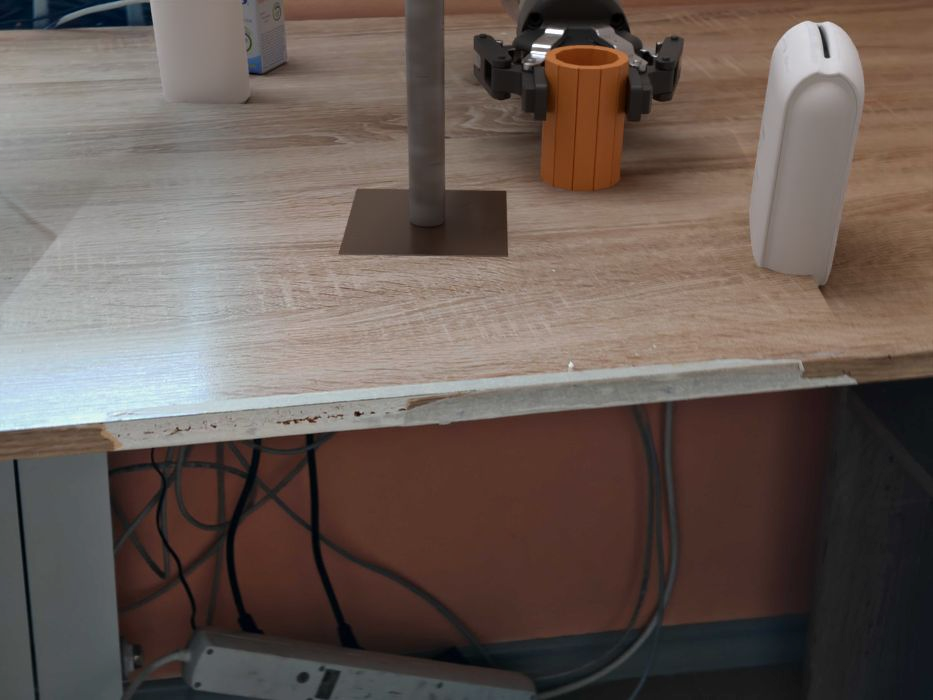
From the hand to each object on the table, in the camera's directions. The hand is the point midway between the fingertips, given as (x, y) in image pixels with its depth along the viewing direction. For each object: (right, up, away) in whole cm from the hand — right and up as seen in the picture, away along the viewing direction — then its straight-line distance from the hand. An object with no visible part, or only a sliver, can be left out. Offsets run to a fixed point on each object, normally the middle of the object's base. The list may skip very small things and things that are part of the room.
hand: (588, 104), depth 62 cm
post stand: (-9, -8, 0) cm, 12 cm away
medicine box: (-26, +10, +29) cm, 41 cm away
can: (-27, +5, +21) cm, 34 cm away
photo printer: (+11, -9, -1) cm, 14 cm away
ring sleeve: (0, -4, +5) cm, 7 cm away
